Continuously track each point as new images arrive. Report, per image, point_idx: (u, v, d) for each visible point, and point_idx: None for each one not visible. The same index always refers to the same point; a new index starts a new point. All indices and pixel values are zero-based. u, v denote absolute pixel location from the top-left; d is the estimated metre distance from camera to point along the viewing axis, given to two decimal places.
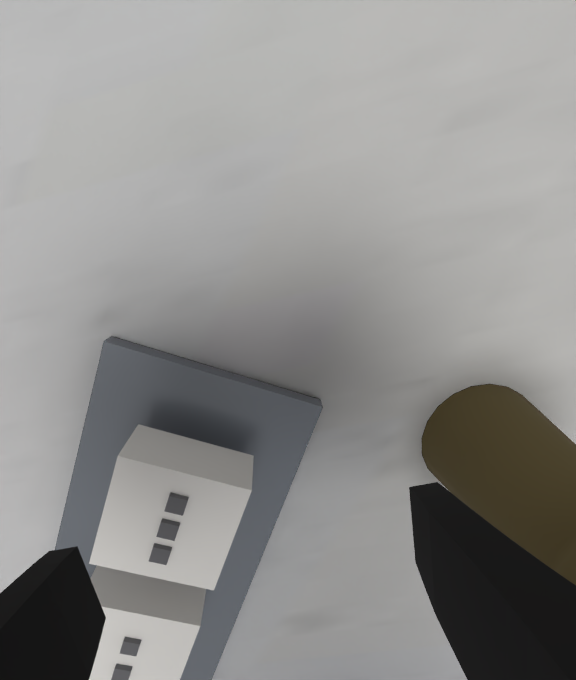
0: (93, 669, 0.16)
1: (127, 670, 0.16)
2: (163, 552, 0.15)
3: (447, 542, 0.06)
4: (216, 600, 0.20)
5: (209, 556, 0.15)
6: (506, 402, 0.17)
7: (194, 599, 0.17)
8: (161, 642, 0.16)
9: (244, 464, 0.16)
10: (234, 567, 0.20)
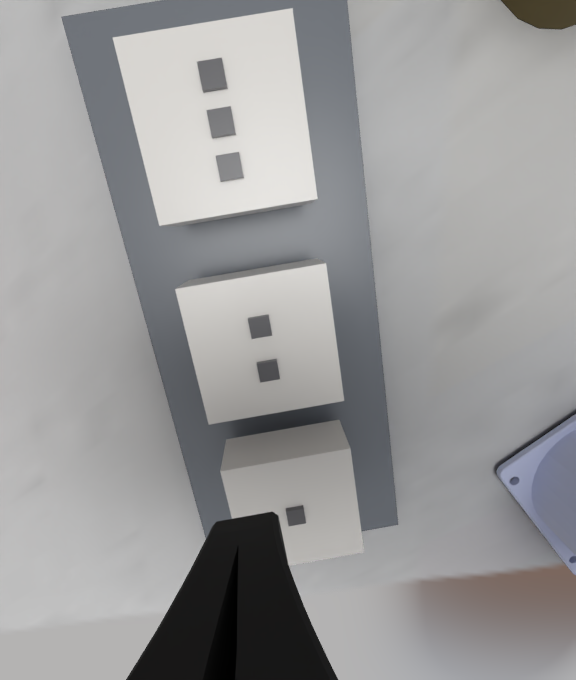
0: (236, 381, 0.13)
1: (272, 361, 0.13)
2: (231, 158, 0.11)
3: None
4: (346, 317, 0.17)
5: (288, 146, 0.11)
6: None
7: (309, 262, 0.14)
8: (292, 308, 0.13)
9: None
10: (345, 262, 0.16)
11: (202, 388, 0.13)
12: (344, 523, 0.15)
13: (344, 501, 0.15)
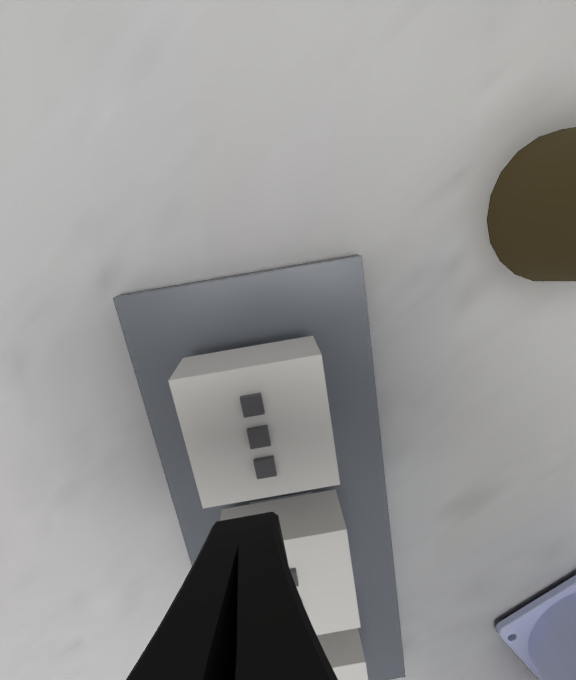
0: None
1: None
2: (266, 463, 0.13)
3: None
4: (359, 516, 0.19)
5: (316, 448, 0.13)
6: (568, 134, 0.14)
7: (330, 510, 0.15)
8: (316, 562, 0.15)
9: (305, 343, 0.14)
10: (360, 474, 0.18)
11: None
12: None
13: None
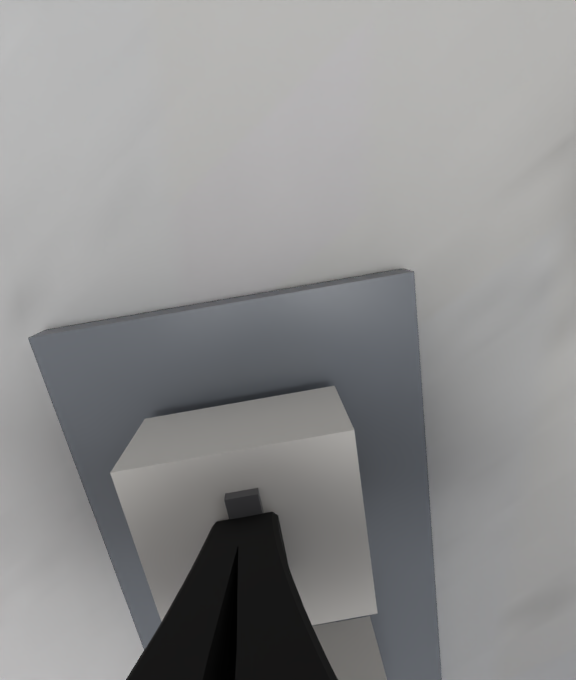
0: None
1: None
2: None
3: None
4: (398, 633, 0.13)
5: (342, 565, 0.09)
6: None
7: (365, 663, 0.10)
8: None
9: (325, 401, 0.09)
10: (400, 579, 0.13)
11: None
12: None
13: None
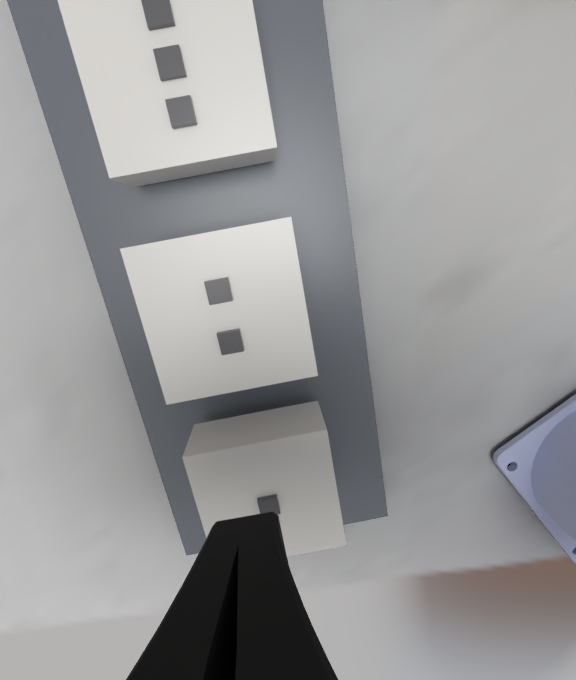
0: (195, 355, 0.12)
1: (234, 331, 0.12)
2: (182, 102, 0.11)
3: None
4: (323, 289, 0.15)
5: (244, 89, 0.11)
6: None
7: None
8: (255, 269, 0.11)
9: None
10: (321, 227, 0.15)
11: (157, 363, 0.12)
12: (323, 513, 0.14)
13: (322, 489, 0.14)
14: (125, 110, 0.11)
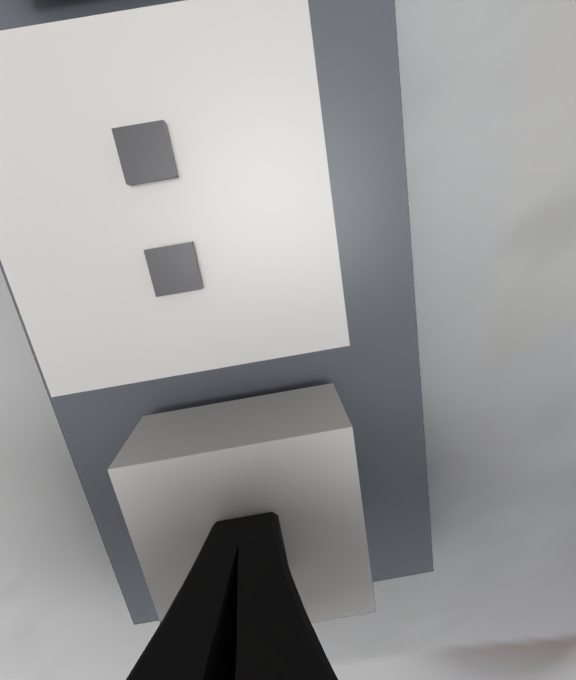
0: (103, 297, 0.06)
1: (181, 245, 0.06)
2: None
3: None
4: (351, 212, 0.09)
5: None
6: None
7: None
8: (225, 109, 0.05)
9: None
10: (351, 101, 0.09)
11: (26, 312, 0.06)
12: (341, 562, 0.09)
13: (341, 524, 0.08)
14: None
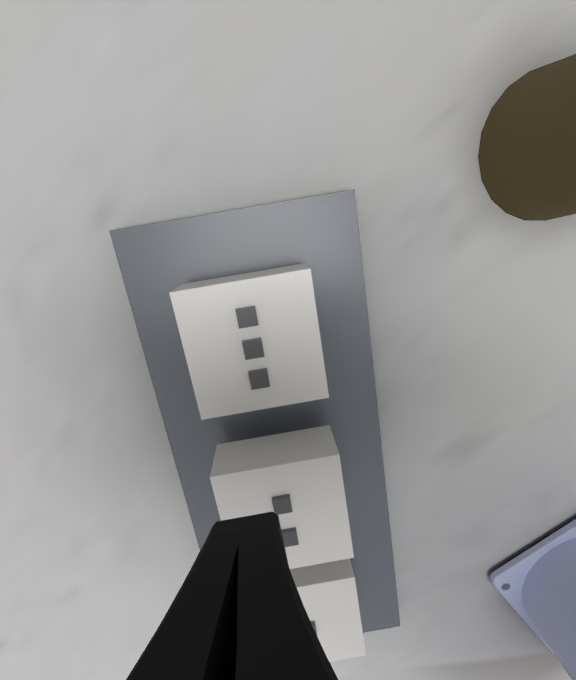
0: None
1: (292, 531, 0.15)
2: (260, 374, 0.14)
3: None
4: (354, 458, 0.19)
5: (306, 361, 0.14)
6: (556, 63, 0.14)
7: (323, 440, 0.16)
8: (310, 489, 0.15)
9: (296, 266, 0.15)
10: (354, 415, 0.18)
11: None
12: (349, 633, 0.18)
13: (349, 617, 0.18)
14: (217, 376, 0.14)
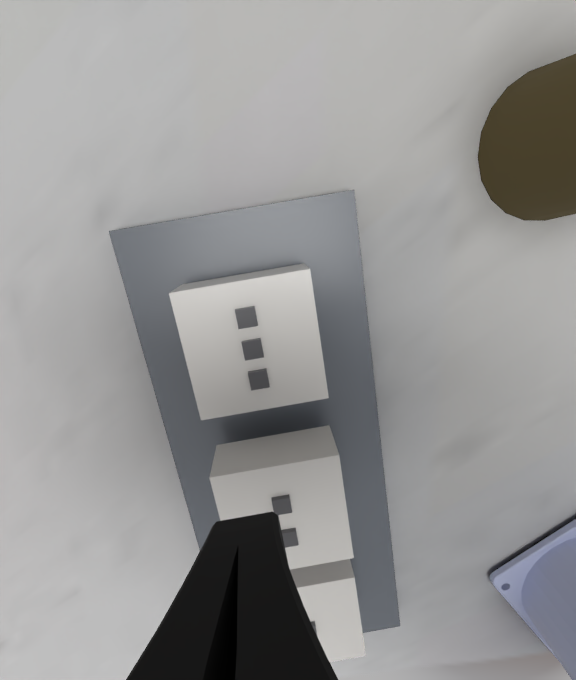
0: None
1: (292, 531, 0.15)
2: (260, 374, 0.14)
3: None
4: (354, 459, 0.19)
5: (306, 362, 0.14)
6: (556, 62, 0.14)
7: (323, 441, 0.16)
8: (310, 489, 0.15)
9: (296, 266, 0.15)
10: (353, 415, 0.18)
11: None
12: (349, 634, 0.18)
13: (349, 617, 0.18)
14: (216, 377, 0.14)
